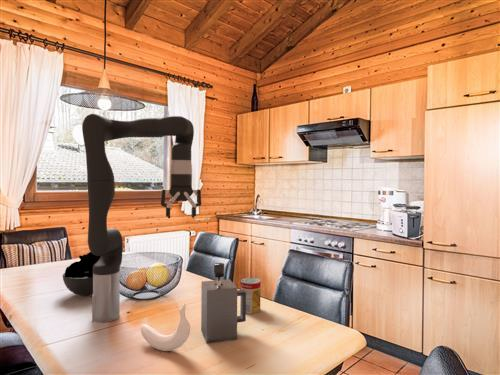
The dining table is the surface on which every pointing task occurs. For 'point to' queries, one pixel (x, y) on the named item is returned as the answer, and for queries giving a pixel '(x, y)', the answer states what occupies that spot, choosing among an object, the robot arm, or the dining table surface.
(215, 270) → the plunger
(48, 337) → the dining table surface
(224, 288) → the press jar
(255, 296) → the canned food
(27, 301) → the dining table surface
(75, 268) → the bowl of black rocks
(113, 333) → the dining table surface
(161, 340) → the banana
